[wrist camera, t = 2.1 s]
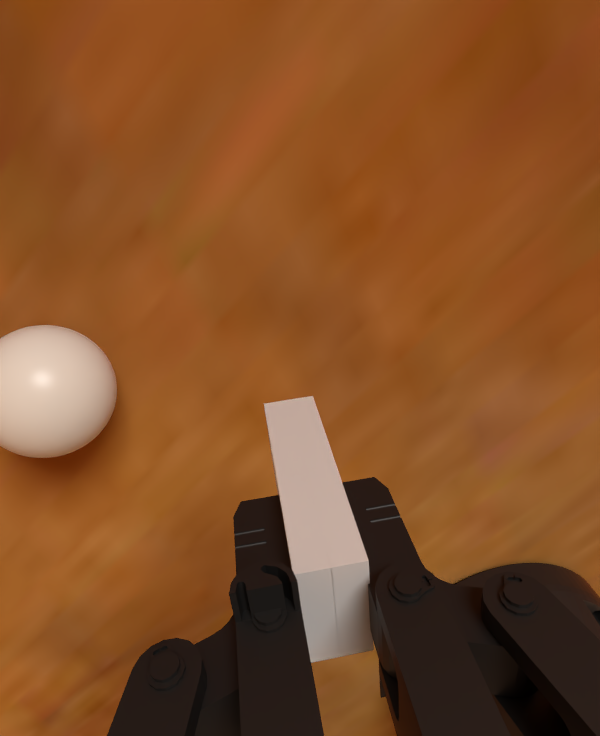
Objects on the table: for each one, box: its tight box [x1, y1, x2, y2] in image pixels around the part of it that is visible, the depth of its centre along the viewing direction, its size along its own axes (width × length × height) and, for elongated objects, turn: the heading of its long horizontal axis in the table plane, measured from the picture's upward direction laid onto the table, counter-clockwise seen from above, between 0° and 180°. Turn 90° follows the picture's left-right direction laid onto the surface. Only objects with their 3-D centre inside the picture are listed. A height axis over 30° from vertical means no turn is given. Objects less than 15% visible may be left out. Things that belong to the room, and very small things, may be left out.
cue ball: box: [0, 325, 117, 458], centre depth 22 cm, size 6×6×6 cm
